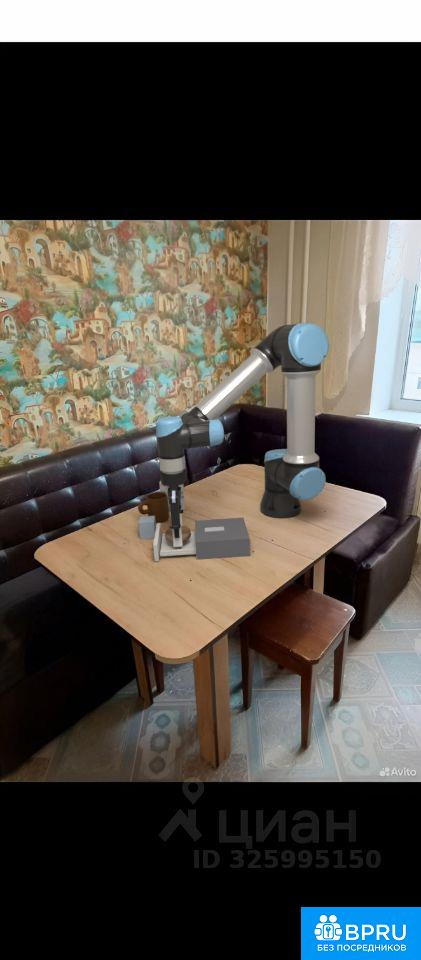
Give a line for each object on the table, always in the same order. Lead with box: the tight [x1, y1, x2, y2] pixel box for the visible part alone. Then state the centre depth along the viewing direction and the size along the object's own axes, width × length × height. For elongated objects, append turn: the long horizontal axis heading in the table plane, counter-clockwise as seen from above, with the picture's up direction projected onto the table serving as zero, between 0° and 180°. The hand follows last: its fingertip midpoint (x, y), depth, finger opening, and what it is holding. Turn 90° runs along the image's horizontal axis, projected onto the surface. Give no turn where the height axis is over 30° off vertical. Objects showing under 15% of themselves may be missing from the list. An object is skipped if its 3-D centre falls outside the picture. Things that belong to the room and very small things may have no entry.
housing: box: [194, 517, 251, 561], centre depth 127 cm, size 16×15×6 cm
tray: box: [152, 523, 196, 562], centre depth 127 cm, size 16×15×6 cm
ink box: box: [159, 480, 186, 513], centre depth 155 cm, size 8×5×12 cm, turn 52°
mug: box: [137, 491, 170, 524], centre depth 146 cm, size 12×8×9 cm, turn 134°
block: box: [138, 515, 157, 540], centre depth 136 cm, size 5×5×6 cm
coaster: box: [164, 525, 192, 542], centre depth 126 cm, size 8×8×2 cm
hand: (178, 539), depth 127 cm, fingers closed on coaster, 8 cm apart
